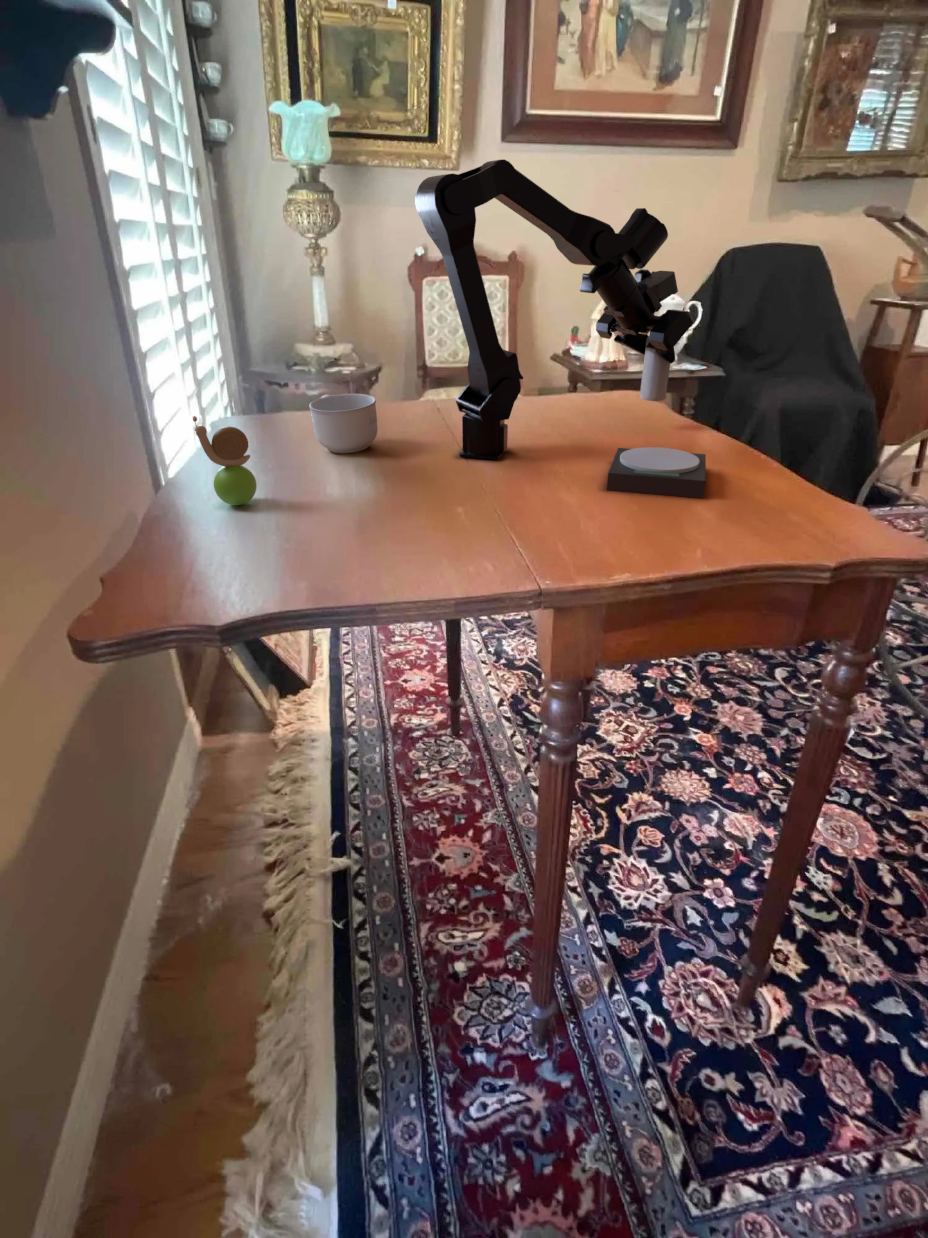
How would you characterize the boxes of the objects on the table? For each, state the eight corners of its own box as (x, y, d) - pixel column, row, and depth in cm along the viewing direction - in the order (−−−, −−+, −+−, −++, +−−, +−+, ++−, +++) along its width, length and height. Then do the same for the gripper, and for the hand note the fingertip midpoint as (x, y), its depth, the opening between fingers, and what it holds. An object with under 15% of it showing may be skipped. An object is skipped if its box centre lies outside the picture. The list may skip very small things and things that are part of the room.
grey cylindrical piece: (667, 401, 122) (676, 338, 117) (642, 401, 122) (650, 338, 117) (662, 395, 126) (670, 335, 121) (637, 395, 126) (644, 335, 121)
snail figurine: (209, 501, 94) (191, 412, 89) (257, 495, 96) (242, 407, 90) (211, 514, 90) (192, 421, 84) (261, 508, 92) (246, 416, 86)
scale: (606, 489, 97) (608, 468, 96) (616, 463, 108) (618, 443, 106) (702, 498, 94) (706, 476, 92) (702, 470, 105) (706, 450, 103)
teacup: (386, 453, 114) (383, 403, 110) (321, 460, 110) (315, 410, 106) (365, 433, 125) (361, 387, 121) (305, 439, 122) (299, 392, 118)
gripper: (694, 253, 104) (733, 328, 113) (616, 250, 118) (657, 317, 128) (646, 312, 104) (689, 382, 114) (574, 302, 119) (619, 365, 129)
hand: (663, 359), depth 121 cm, fingers closed on grey cylindrical piece, 4 cm apart
